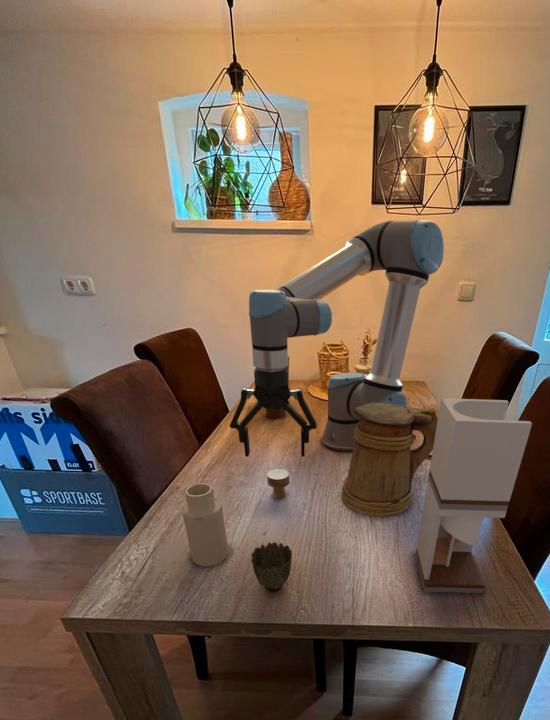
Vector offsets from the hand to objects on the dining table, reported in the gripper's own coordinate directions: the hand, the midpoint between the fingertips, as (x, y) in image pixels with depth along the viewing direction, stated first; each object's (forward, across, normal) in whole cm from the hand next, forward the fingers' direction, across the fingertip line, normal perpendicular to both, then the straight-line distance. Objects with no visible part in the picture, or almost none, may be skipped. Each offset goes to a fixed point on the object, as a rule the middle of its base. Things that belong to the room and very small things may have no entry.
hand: (275, 454), depth 98 cm
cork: (+12, 0, 0) cm, 12 cm away
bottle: (+12, +12, +23) cm, 29 cm away
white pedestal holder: (+12, -36, +31) cm, 49 cm away
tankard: (+12, -28, +2) cm, 31 cm away
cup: (+12, -2, +33) cm, 35 cm away
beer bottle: (+12, +5, -59) cm, 60 cm away
